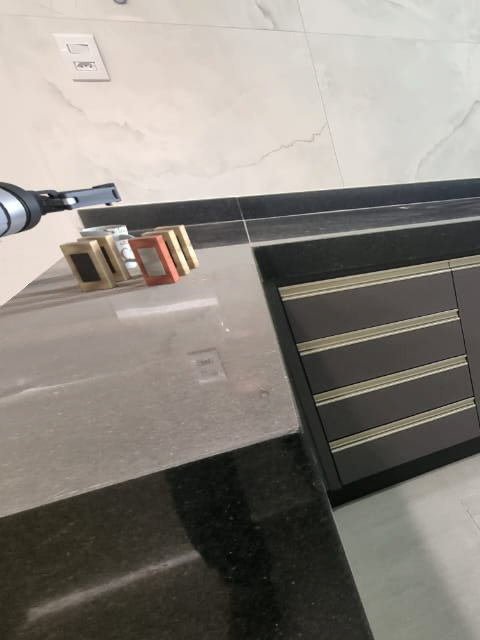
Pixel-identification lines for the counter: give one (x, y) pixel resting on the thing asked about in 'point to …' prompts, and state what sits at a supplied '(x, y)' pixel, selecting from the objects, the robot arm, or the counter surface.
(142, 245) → the orange picture frame
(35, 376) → the counter surface
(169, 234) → the wooden picture frame
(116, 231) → the mug
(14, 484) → the counter surface
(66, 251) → the tan photo frame
